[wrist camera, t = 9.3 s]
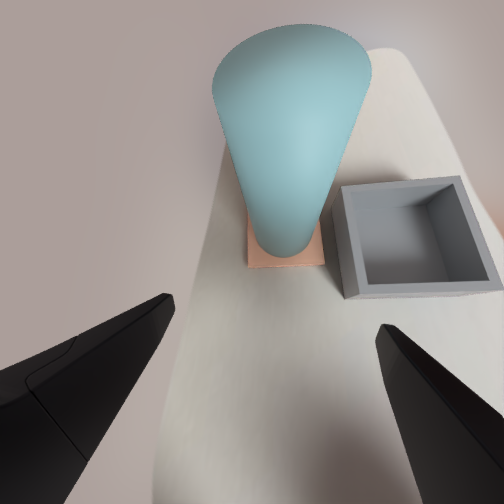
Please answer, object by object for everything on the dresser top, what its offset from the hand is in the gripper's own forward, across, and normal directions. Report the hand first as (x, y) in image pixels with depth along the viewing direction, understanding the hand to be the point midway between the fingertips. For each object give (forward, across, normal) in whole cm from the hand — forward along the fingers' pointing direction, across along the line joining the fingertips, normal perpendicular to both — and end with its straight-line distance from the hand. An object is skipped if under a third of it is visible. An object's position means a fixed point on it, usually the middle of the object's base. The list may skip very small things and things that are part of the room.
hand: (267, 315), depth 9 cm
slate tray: (+11, -9, +1) cm, 14 cm away
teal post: (+11, 0, 0) cm, 11 cm away
